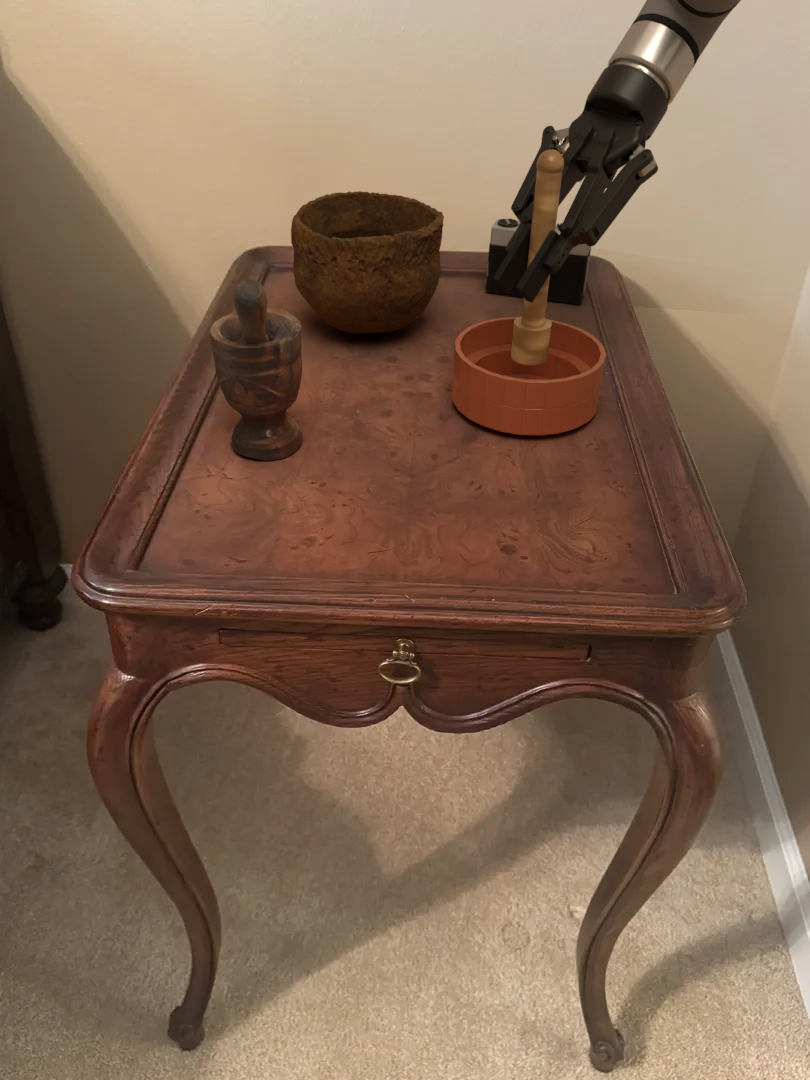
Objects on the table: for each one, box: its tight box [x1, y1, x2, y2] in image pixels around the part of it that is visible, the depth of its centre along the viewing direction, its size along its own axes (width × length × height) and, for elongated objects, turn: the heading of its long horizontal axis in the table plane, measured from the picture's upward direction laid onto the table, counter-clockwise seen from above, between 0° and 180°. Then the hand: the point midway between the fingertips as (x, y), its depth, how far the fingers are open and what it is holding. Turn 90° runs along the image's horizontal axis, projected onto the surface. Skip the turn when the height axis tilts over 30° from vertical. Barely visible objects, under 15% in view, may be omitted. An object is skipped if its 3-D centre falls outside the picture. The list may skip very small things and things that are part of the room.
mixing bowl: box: [451, 316, 607, 436], centre depth 98 cm, size 16×16×7 cm
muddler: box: [511, 149, 564, 365], centre depth 90 cm, size 4×4×21 cm
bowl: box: [290, 190, 445, 334], centre depth 111 cm, size 19×19×15 cm
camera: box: [485, 218, 592, 306], centre depth 124 cm, size 14×9×10 cm, turn 65°
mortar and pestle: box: [209, 278, 303, 462], centre depth 85 cm, size 12×9×20 cm
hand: (512, 290), depth 89 cm, fingers closed on muddler, 2 cm apart
